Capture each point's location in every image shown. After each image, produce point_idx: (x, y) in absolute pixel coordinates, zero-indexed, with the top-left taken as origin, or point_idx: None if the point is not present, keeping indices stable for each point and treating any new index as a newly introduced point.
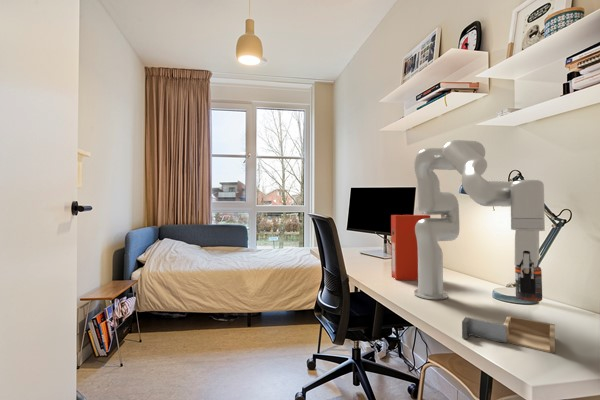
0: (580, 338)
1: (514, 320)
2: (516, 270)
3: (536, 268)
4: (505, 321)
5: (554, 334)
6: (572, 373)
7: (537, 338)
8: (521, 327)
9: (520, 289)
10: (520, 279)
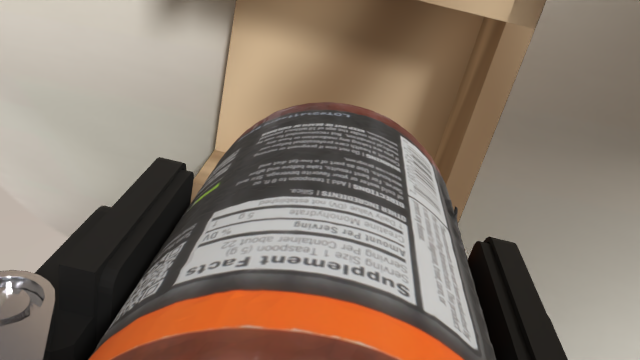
0: None
1: (494, 42)
2: (181, 316)
3: None
4: None
5: None
6: (31, 172)
7: None
8: (470, 75)
9: (151, 169)
10: (78, 247)
